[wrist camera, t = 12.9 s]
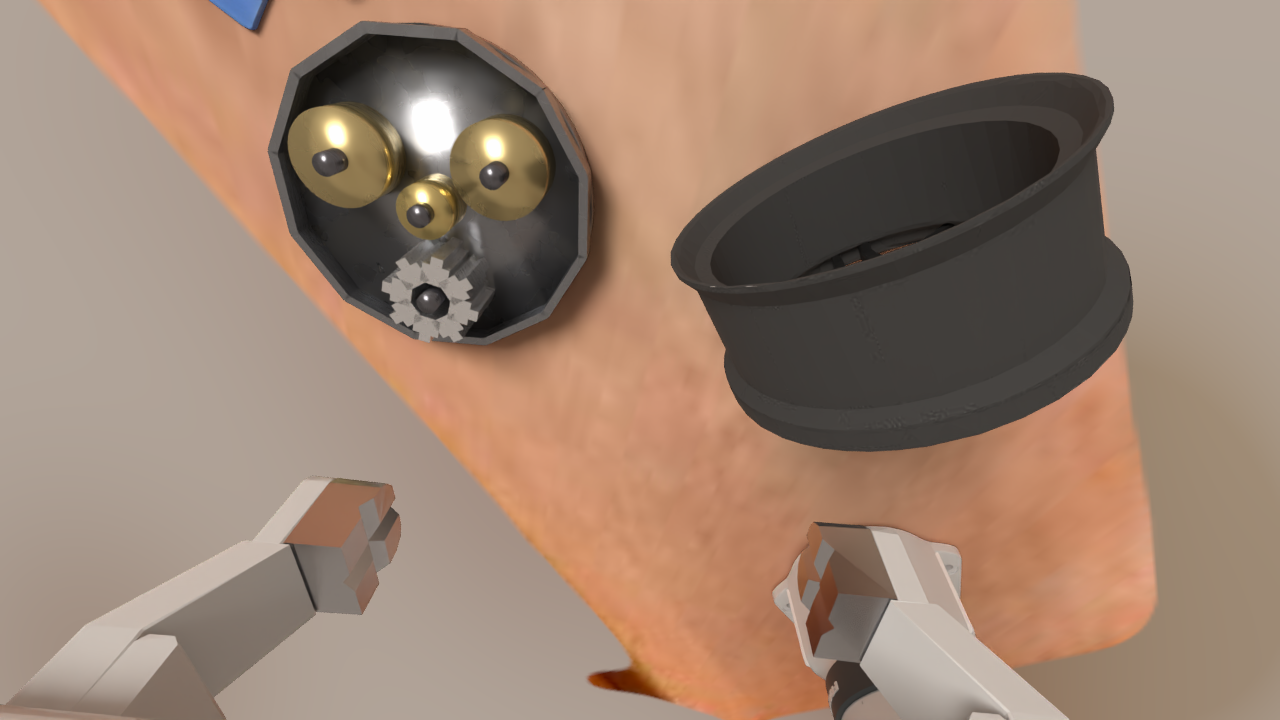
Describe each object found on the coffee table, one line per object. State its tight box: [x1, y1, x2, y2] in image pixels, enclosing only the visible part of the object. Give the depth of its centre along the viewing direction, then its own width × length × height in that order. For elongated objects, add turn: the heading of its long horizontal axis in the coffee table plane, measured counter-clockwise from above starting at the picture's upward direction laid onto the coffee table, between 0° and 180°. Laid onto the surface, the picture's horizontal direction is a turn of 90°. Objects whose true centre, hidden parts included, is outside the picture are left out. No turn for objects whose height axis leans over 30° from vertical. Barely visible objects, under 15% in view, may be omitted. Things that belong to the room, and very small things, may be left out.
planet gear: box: [382, 237, 495, 343], centre depth 39 cm, size 7×7×4 cm
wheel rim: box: [671, 73, 1133, 452], centre depth 29 cm, size 20×9×20 cm, turn 117°
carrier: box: [268, 21, 594, 345], centre depth 37 cm, size 21×21×6 cm
